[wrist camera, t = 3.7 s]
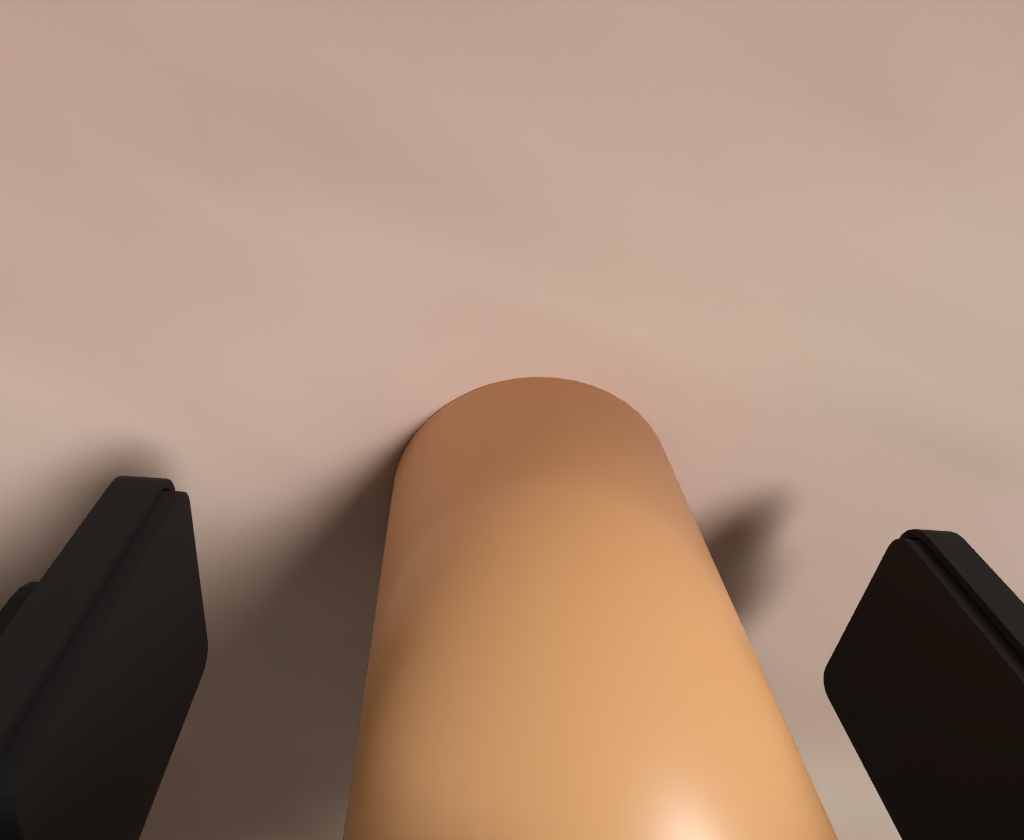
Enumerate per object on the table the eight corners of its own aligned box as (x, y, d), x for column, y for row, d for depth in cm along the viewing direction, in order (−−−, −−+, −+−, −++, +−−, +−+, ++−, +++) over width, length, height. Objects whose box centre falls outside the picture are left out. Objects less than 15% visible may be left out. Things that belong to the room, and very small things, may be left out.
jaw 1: (701, 390, 10) (1139, 1107, 4) (636, 606, 13) (835, 1300, 6) (399, 364, 10) (265, 1140, 3) (386, 594, 12) (292, 1338, 5)
